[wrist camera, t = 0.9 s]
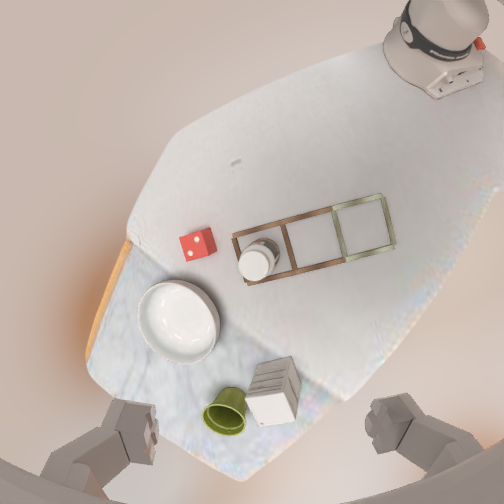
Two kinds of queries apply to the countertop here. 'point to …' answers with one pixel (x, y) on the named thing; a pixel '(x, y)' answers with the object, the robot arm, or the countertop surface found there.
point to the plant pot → (226, 413)
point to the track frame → (339, 234)
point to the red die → (198, 244)
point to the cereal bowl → (178, 321)
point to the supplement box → (274, 392)
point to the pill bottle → (258, 259)
